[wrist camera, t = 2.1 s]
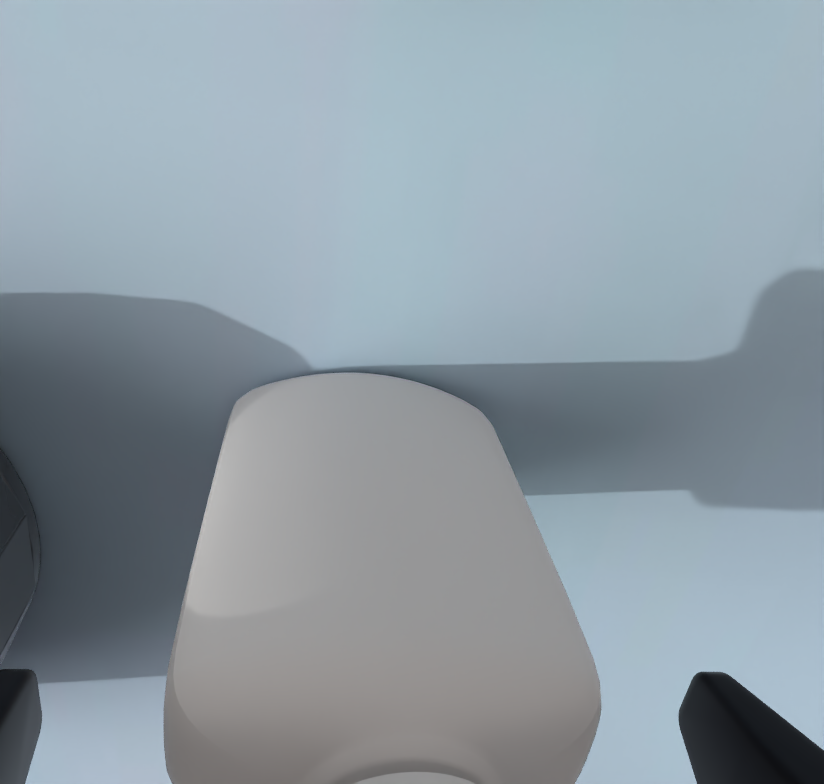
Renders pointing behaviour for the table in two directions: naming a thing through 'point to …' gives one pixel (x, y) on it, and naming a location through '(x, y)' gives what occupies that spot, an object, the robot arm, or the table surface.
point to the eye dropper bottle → (373, 602)
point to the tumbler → (15, 553)
